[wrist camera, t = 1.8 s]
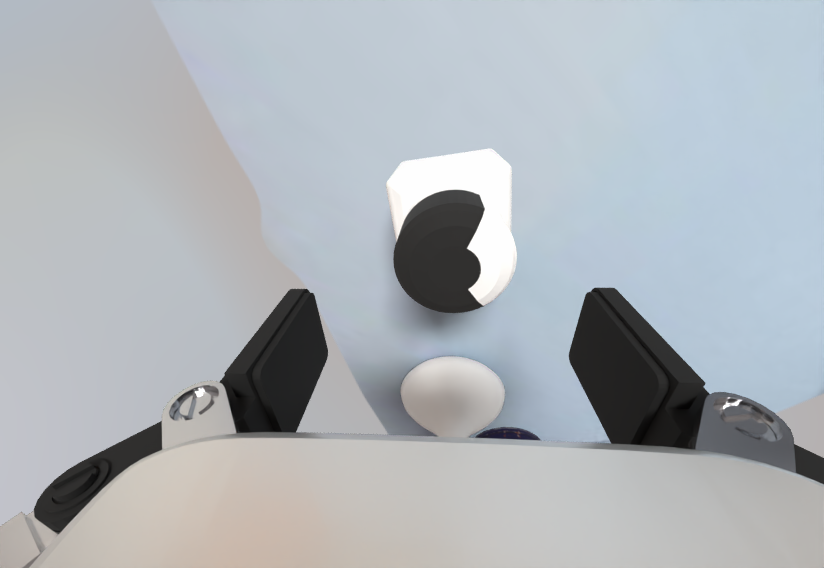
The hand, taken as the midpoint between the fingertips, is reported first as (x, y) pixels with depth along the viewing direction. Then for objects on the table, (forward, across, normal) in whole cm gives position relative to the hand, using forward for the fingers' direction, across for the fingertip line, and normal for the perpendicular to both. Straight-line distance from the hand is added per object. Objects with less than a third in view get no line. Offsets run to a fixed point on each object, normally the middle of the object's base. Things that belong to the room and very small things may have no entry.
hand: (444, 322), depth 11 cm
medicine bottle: (+16, -1, 0) cm, 17 cm away
